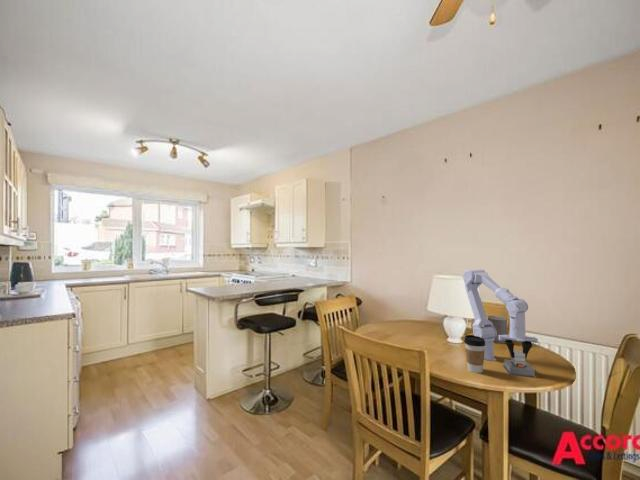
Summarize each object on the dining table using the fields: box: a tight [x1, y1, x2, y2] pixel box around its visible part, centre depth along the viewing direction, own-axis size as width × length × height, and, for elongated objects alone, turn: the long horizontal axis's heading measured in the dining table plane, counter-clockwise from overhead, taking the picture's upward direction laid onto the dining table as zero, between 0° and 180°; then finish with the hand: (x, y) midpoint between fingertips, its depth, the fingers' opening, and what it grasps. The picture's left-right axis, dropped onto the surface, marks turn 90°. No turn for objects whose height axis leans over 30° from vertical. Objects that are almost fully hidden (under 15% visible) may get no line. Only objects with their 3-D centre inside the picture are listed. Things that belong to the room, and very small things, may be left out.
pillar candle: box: [487, 315, 508, 344], centre depth 168 cm, size 10×10×15 cm
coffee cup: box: [463, 334, 485, 374], centre depth 129 cm, size 8×8×15 cm
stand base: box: [502, 358, 538, 378], centre depth 127 cm, size 10×10×4 cm
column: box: [510, 349, 527, 367], centre depth 127 cm, size 4×4×7 cm
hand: (518, 357), depth 127 cm, fingers closed on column, 4 cm apart
